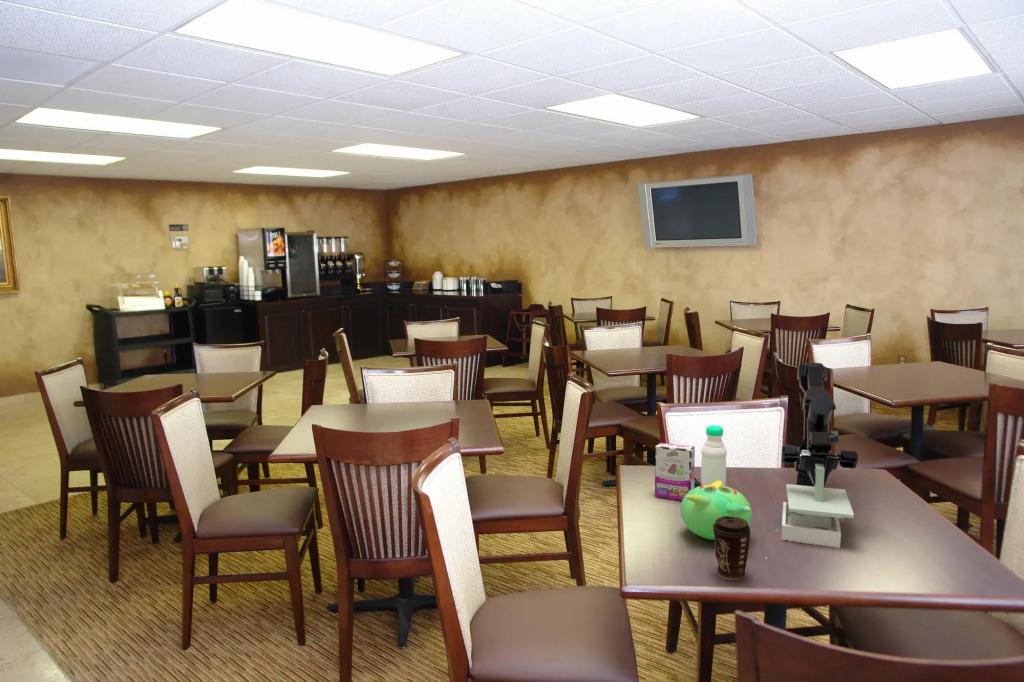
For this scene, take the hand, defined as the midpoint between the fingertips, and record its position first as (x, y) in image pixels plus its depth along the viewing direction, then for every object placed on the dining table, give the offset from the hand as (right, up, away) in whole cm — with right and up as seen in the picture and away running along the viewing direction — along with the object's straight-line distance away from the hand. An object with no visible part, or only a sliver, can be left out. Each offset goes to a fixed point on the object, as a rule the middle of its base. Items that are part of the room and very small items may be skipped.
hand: (819, 485), depth 187 cm
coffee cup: (-30, -17, -20) cm, 40 cm away
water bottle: (-23, -11, +19) cm, 32 cm away
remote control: (-24, -8, +48) cm, 54 cm away
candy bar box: (-32, -10, +30) cm, 44 cm away
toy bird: (-28, -14, 0) cm, 31 cm away
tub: (-1, -13, +4) cm, 14 cm away
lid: (+1, -5, +2) cm, 5 cm away
